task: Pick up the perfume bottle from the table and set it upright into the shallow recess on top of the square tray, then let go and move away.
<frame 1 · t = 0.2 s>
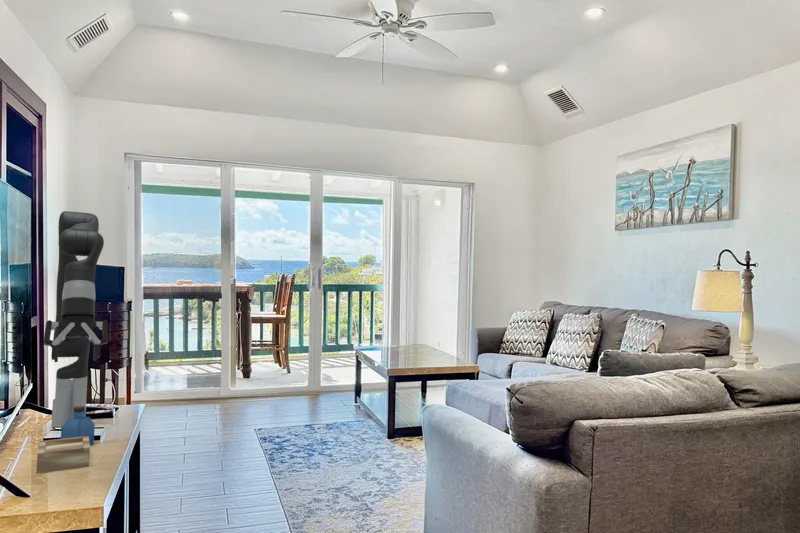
hand: (75, 360, 134), 31 cm above the table, tool tilted 20°, fingers open, 8 cm apart
perfume bottle: (77, 447, 161), on the table
square tray: (63, 462, 147), on the table
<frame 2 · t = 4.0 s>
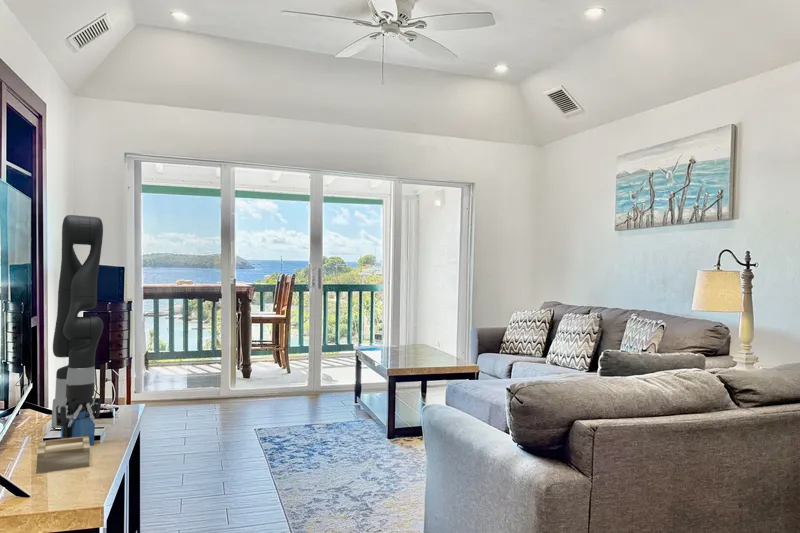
hand: (77, 435, 161), 3 cm above the table, tool pointing down, fingers closed on perfume bottle, 6 cm apart
perfume bottle: (77, 447, 161), on the table, touching gripper
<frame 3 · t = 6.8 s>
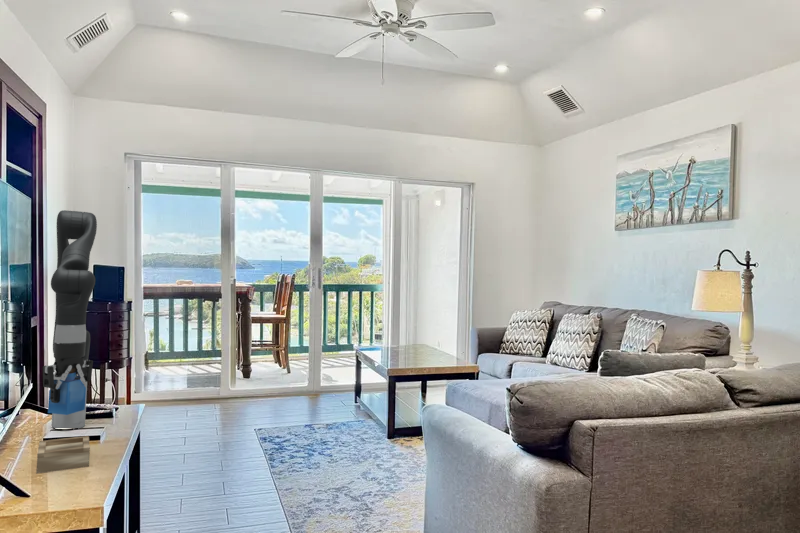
hand: (67, 399, 148), 18 cm above the table, tool pointing down, fingers closed on perfume bottle, 6 cm apart
perfume bottle: (66, 412, 147), point 14 cm above the table, touching gripper
when the fingers open (8 cm above the table, at t = 9.5 s): perfume bottle stays where it is, resting on square tray.
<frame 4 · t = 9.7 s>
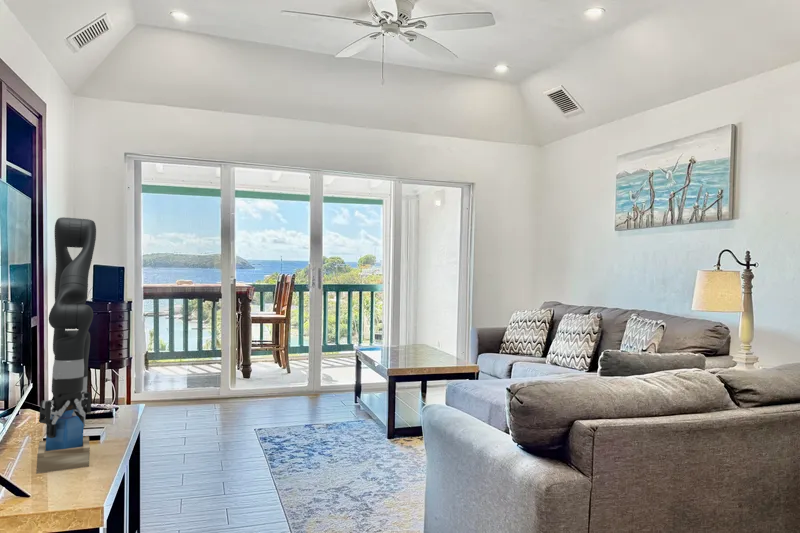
hand: (65, 433, 147), 8 cm above the table, tool pointing down, fingers open, 8 cm apart
perfume bottle: (64, 449, 147), point 4 cm above the table, touching square tray
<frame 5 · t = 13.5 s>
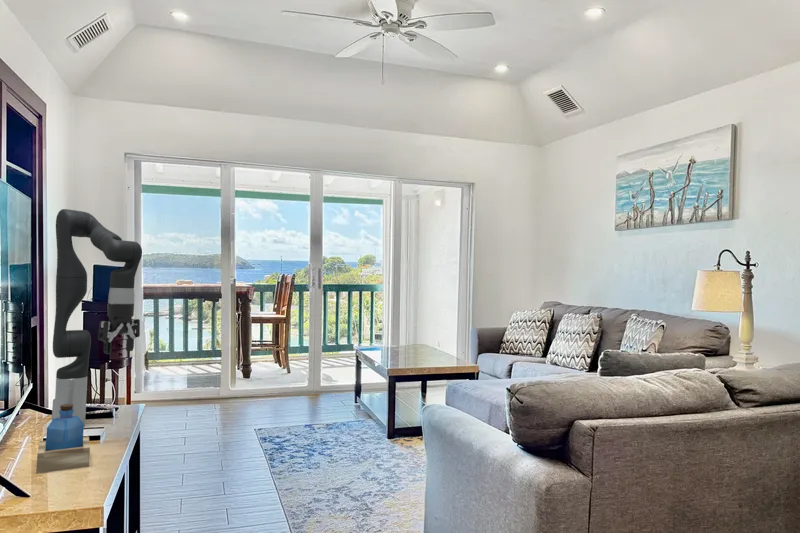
hand: (118, 352, 169), 28 cm above the table, tool pointing down, fingers open, 8 cm apart
nothing on the table moved.
at the end: perfume bottle 0.1 cm off-centre on the square tray, point 3.8 cm above the square tray's base; perfume bottle tilted 0°; the gripper is holding nothing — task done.
